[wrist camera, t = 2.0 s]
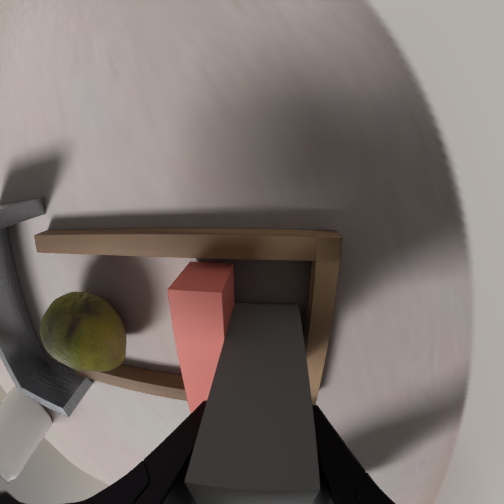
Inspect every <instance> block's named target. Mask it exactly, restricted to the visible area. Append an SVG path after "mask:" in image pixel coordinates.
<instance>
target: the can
mask: <svg viewBox="0 0 504 504" xmlns="http://www.w3.org/2000/svg"><path fill="white" fill-rule="evenodd" d="M51 425H52V419H51V417H50V415H49V413H48V412H47V410H46V409H45V408H44V407H43V405H42V404H40V403H38V402H36V401H34V400H33V399H31V398H29V397H27V396H25V395H24V394H22V393H20V392H19V390H18V388H17V387H14V388H13V389H12V390H11V391H10V392H9V393H8V394H7V395H6V397H4V399H3V400H2V401H1V402H0V477H1V478H2V479H3V480H4V481H5V482H7V483H8V482H9V481H10V480H12V479H15V478H16V477H17V476H18V475H19V473H20V472H21V470H22V469H23V467H24V465H25V464H26V462H27V461H28V459H29V458H30V456H31V455H32V453H33V452H34V450H35V449H36V447H37V446H38V444H39V443H40V441H41V440H42V438H43V437H44V436H45V434H46V433H47V431H48V430H49V428H50V427H51Z"/></svg>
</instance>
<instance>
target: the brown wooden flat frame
mask: <svg viewBox="0 0 504 504" xmlns="http://www.w3.org/2000/svg"><path fill="white" fill-rule="evenodd" d="M34 238H35V244H36V249H37V252H42V253H66V254H92V255H119V256H148V257H179V258H213V259H251V260H293V261H312V265H311V278H310V289H309V300H308V310H307V320H306V328H305V337H304V344H305V351H306V358H307V366H308V374H309V382H310V390H311V398H312V405H315V404H316V400H317V396H318V391H319V387H320V382H321V378H322V373H323V368H324V363H325V358H326V353H327V347H328V342H329V336H330V330H331V324H332V318H333V311H334V305H335V298H336V290H337V282H338V274H339V265H340V256H341V245H342V237H341V236H340V235H339V234H338V233H337V232H336V231H325V230H292V229H243V228H117V229H71V230H47V231H44V232H41V233H39V234H37V235H34ZM74 370H75V372H76V374H77V375H80V376H83V377H87V378H90V379H93V380H96V381H100V382H103V383H107V384H110V385H114V386H118V387H121V388H125V389H130V390H134V391H138V392H142V393H147V394H152V395H157V396H162V397H167V398H173V399H179V400H186V401H188V400H187V396H186V391H185V387H184V382H183V378H182V375H176V374H169V373H163V372H157V371H151V370H146V369H141V368H135V367H131V366H126V365H121V364H120V366H118V367H116V368H115V369H112V370H110V371H105V372H103V371H102V372H92V371H84V370H76V369H74Z"/></svg>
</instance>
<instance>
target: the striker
mask: <svg viewBox="0 0 504 504" xmlns="http://www.w3.org/2000/svg"><path fill="white" fill-rule="evenodd" d="M167 290H168V298H169V305H170V311H171V318H172V324H173V330H174V336H175V342H176V347H177V353H178V358H179V363H180V368H181V373H182V378H183V382H184V387H185V391H186V396H187V400H188V404H189V408H190V412H191V413H192V412H193V411H194V410H195V409H196V408H197V407H198V406H199V405H200V404H201V403H202V402H203V401H204V400H207V403H206V406H205V410H204V414H203V417H202V421H201V424H200V428H199V431H198V435H197V439H196V442H195V446H194V449H193V453H192V456H191V460H190V464H189V467H188V471H187V474H186V478H185V484H186V486H187V487H188V489H189V491H190V493H191V495H192V496H193V498H194V500H195V501H196V503H197V504H312V502H313V501H314V499H315V497H316V496H317V494H318V493H319V491H320V480H319V468H318V456H317V445H316V435H315V425H314V416H313V407H312V398H311V390H310V382H309V374H308V366H307V358H306V351H305V344H304V337H303V330H302V323H301V317H300V310H299V305H284V304H249V303H235V295H234V263H216V262H190V263H189V264H188V265H187V266H186V268H185V269H184V270H183V271H182V272H181V274H180V275H179V276H178V277H177V278H176V280H175V281H174V282H173V283H172V285H171V286H170V287H169V288H168V289H167Z"/></svg>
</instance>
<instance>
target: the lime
mask: <svg viewBox="0 0 504 504" xmlns="http://www.w3.org/2000/svg"><path fill="white" fill-rule="evenodd" d="M39 333H40V337H41V340H42V342H43V345H44V347H45V349H46V350H47V352H48V353H49V354H50V355H51V356H52V357H53V358H54V359H56V360H57V361H59V362H61V363H63V364H65V365H66V366H68V367H70V368H72V369H76V370H84V371H92V372H102V371H103V372H105V371H110V370H112V369H115V368H116V367H118V366H120V364H122V363H123V360H124V358H125V354H126V333H125V328H124V325H123V322H122V320H121V318H120V317H119V315H118V314H117V313H116V311H115V309H114V308H113V307H112V305H111V304H110V303H108V302H107V301H106V300H105V299H103V298H100V297H98V296H96V295H93V294H90V293H87V292H70V293H68V294H65V295H63V296H61V297H59V298H57V299H55V300H54V301H53V302H52V304H51V305H50V307H49V308H48V310H47V311H46V313H45V314H44V316H43V319H42V321H41V325H40V331H39Z"/></svg>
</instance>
